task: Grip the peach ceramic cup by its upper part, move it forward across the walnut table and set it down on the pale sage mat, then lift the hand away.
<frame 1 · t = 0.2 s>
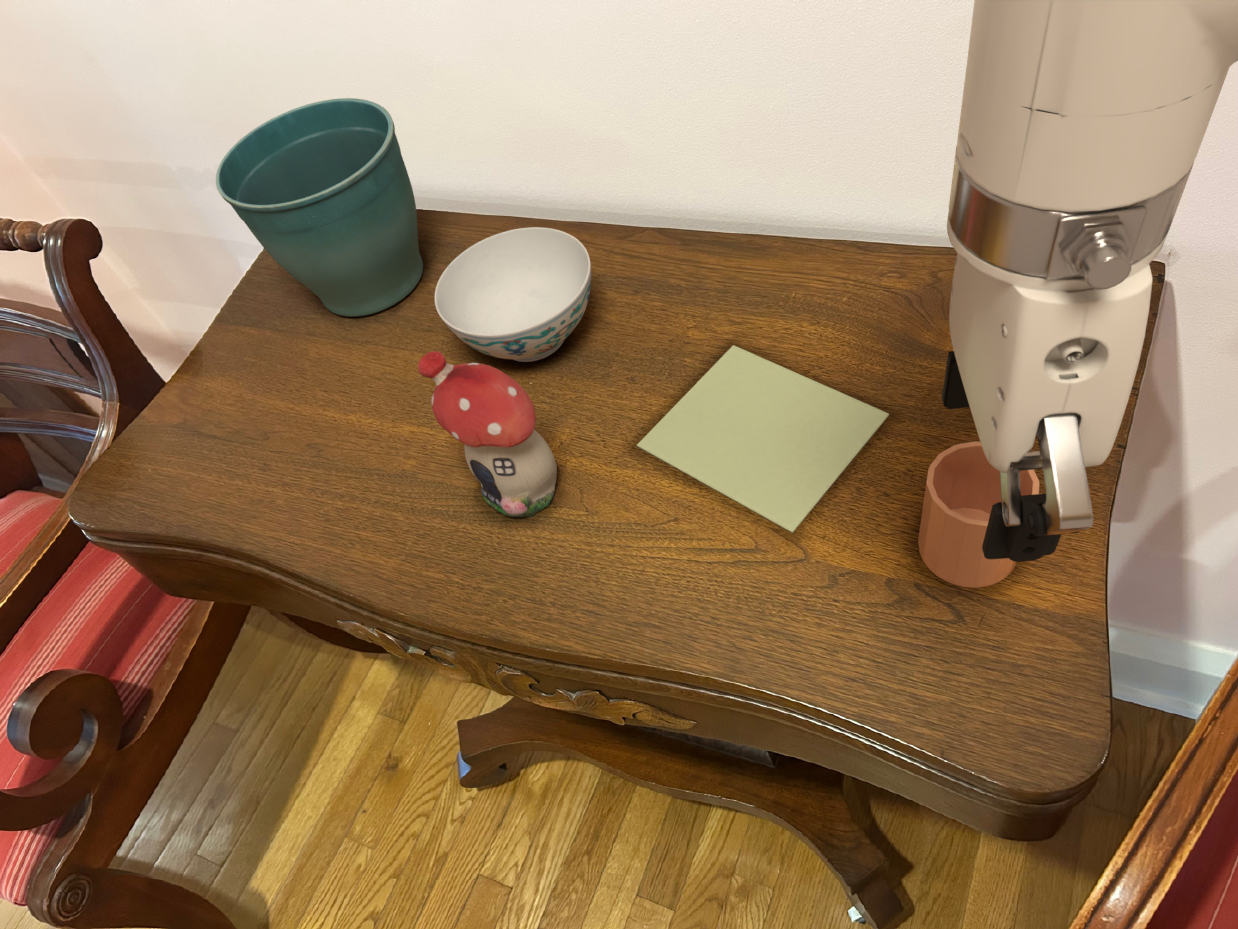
hand: (993, 472, 44), 18 cm above the table, tool pointing down, fingers open, 9 cm apart
flower pot: (376, 284, 96), on the table
cup: (967, 547, 62), on the table
decorative ornament: (519, 487, 74), on the table
mat: (760, 431, 72), on the table
chinaware: (534, 339, 85), on the table
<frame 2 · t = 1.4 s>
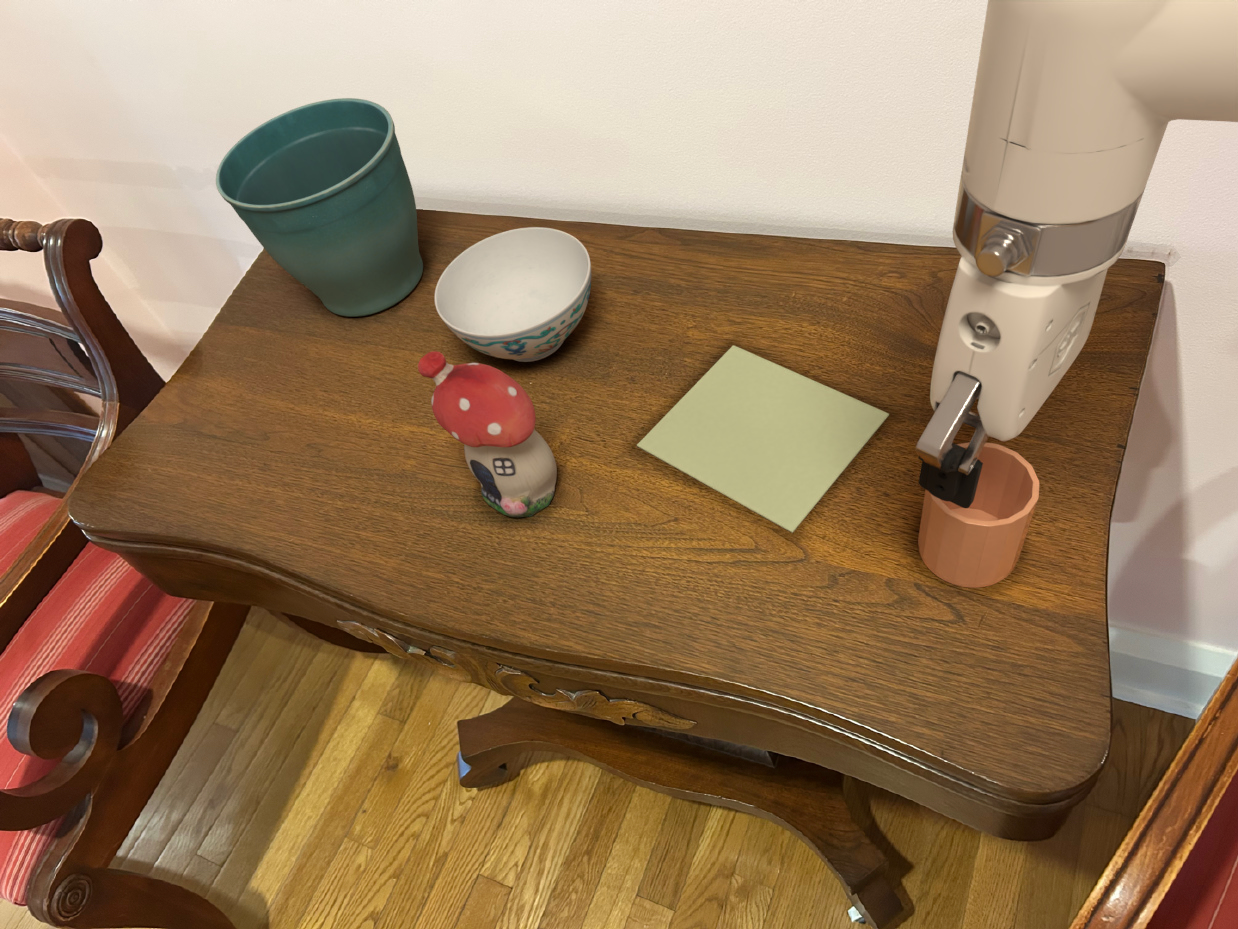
hand: (985, 441, 53), 12 cm above the table, tool pointing down, fingers open, 9 cm apart
nothing on the table moved.
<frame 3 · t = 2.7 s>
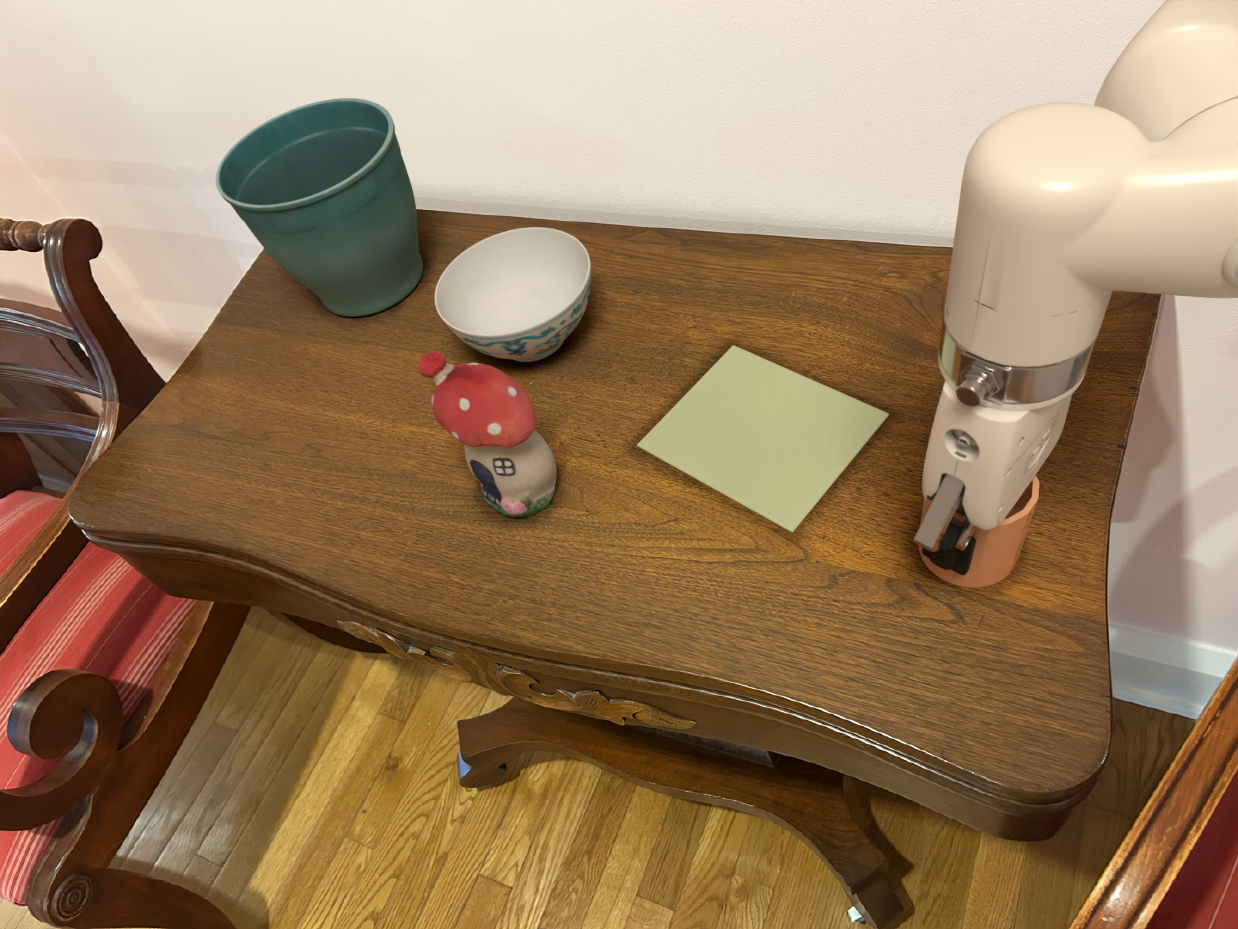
hand: (972, 522, 60), 3 cm above the table, tool pointing down, fingers closed on cup, 6 cm apart
cup: (967, 547, 62), on the table, touching gripper
everything else where it was.
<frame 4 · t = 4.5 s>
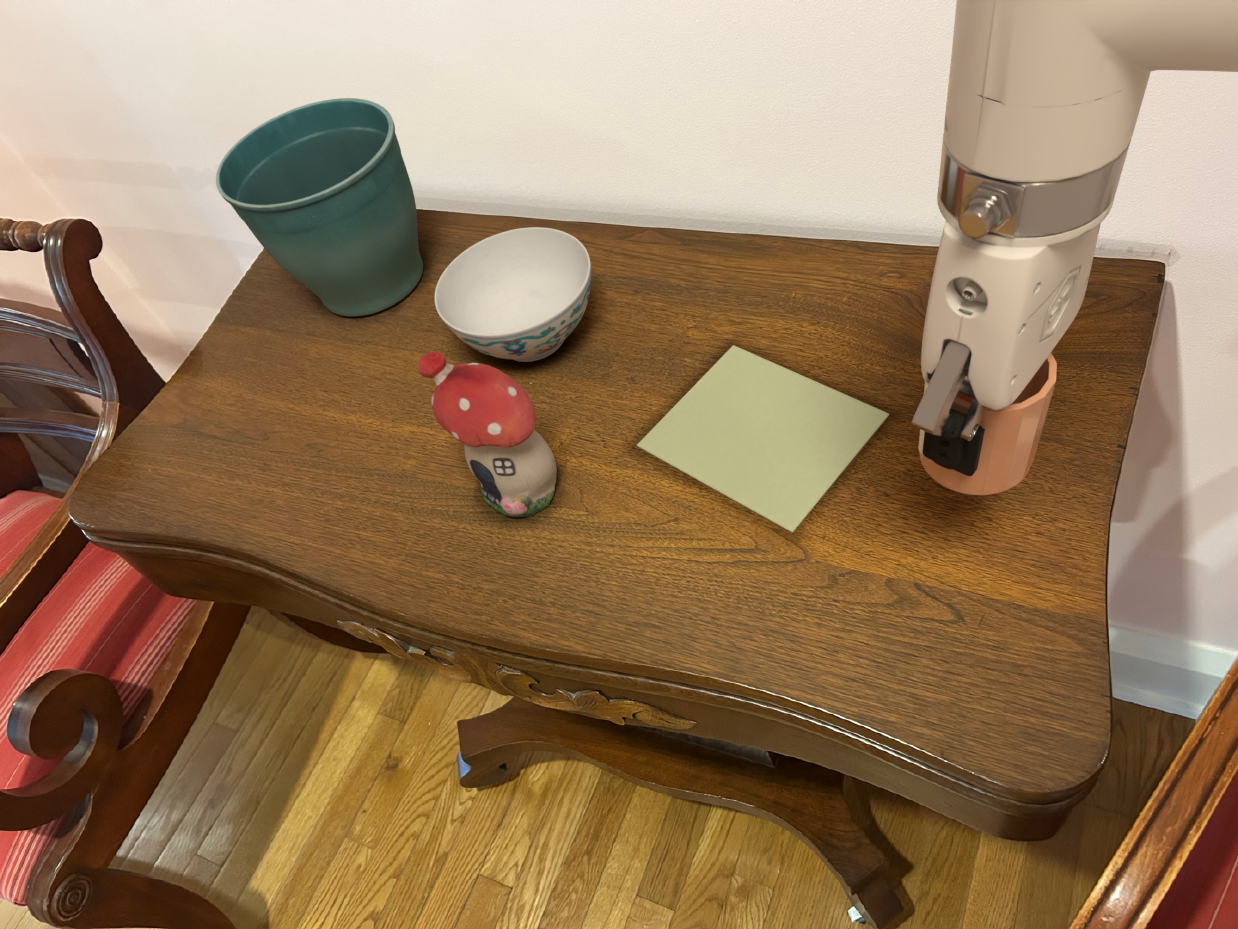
hand: (980, 420, 52), 13 cm above the table, tool pointing down, fingers closed on cup, 6 cm apart
cup: (974, 452, 55), point 10 cm above the table, touching gripper
everything else where it was.
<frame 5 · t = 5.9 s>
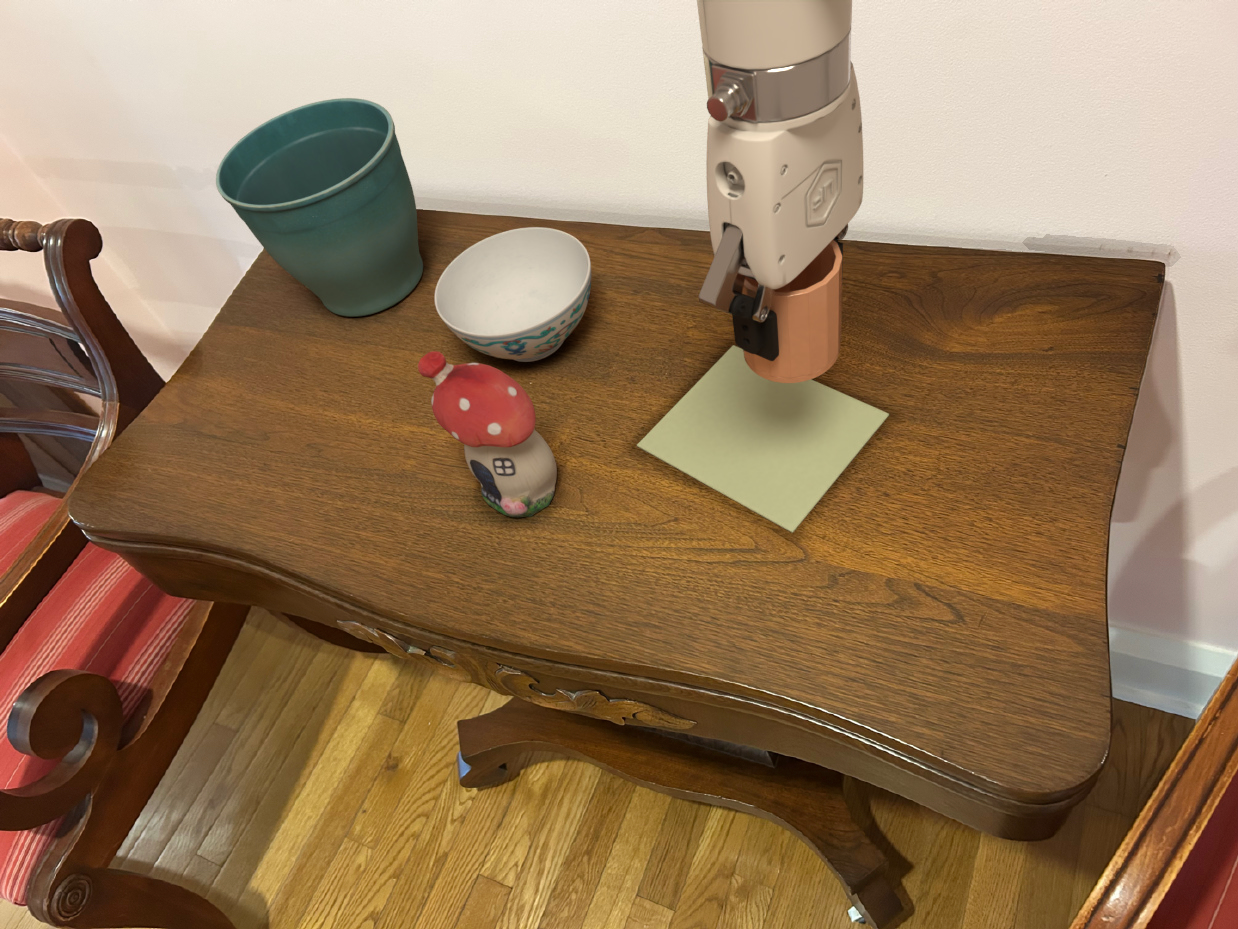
hand: (789, 315, 59), 15 cm above the table, tool pointing down, fingers closed on cup, 6 cm apart
cup: (791, 348, 61), point 12 cm above the table, touching gripper
everything else where it was.
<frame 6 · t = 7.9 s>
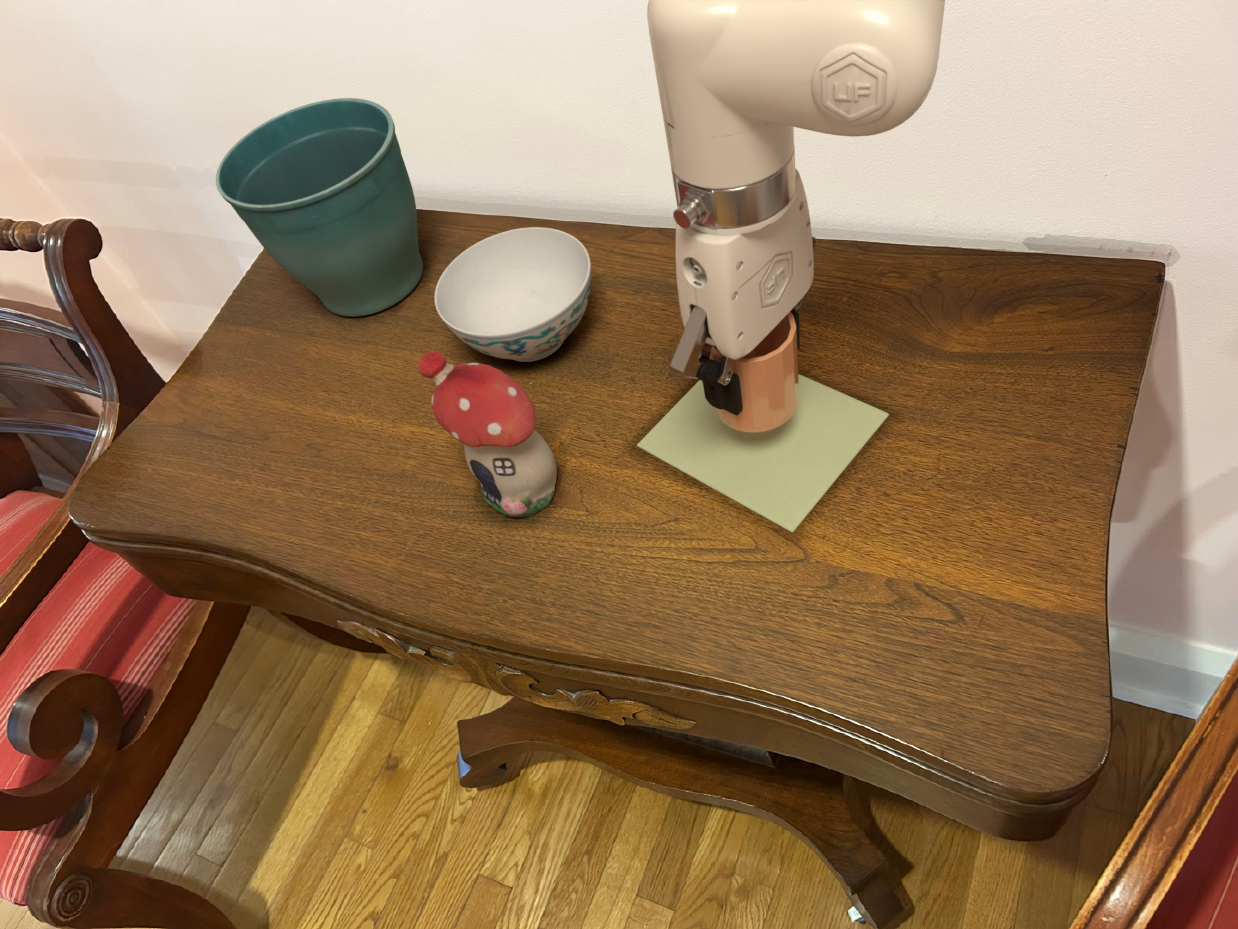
hand: (753, 373, 67), 7 cm above the table, tool pointing down, fingers closed on cup, 6 cm apart
cup: (755, 400, 69), point 4 cm above the table, touching gripper
everything else where it was.
when the fingers open (3 cm above the table, at t = 9.3 s): cup stays where it is, resting on mat.
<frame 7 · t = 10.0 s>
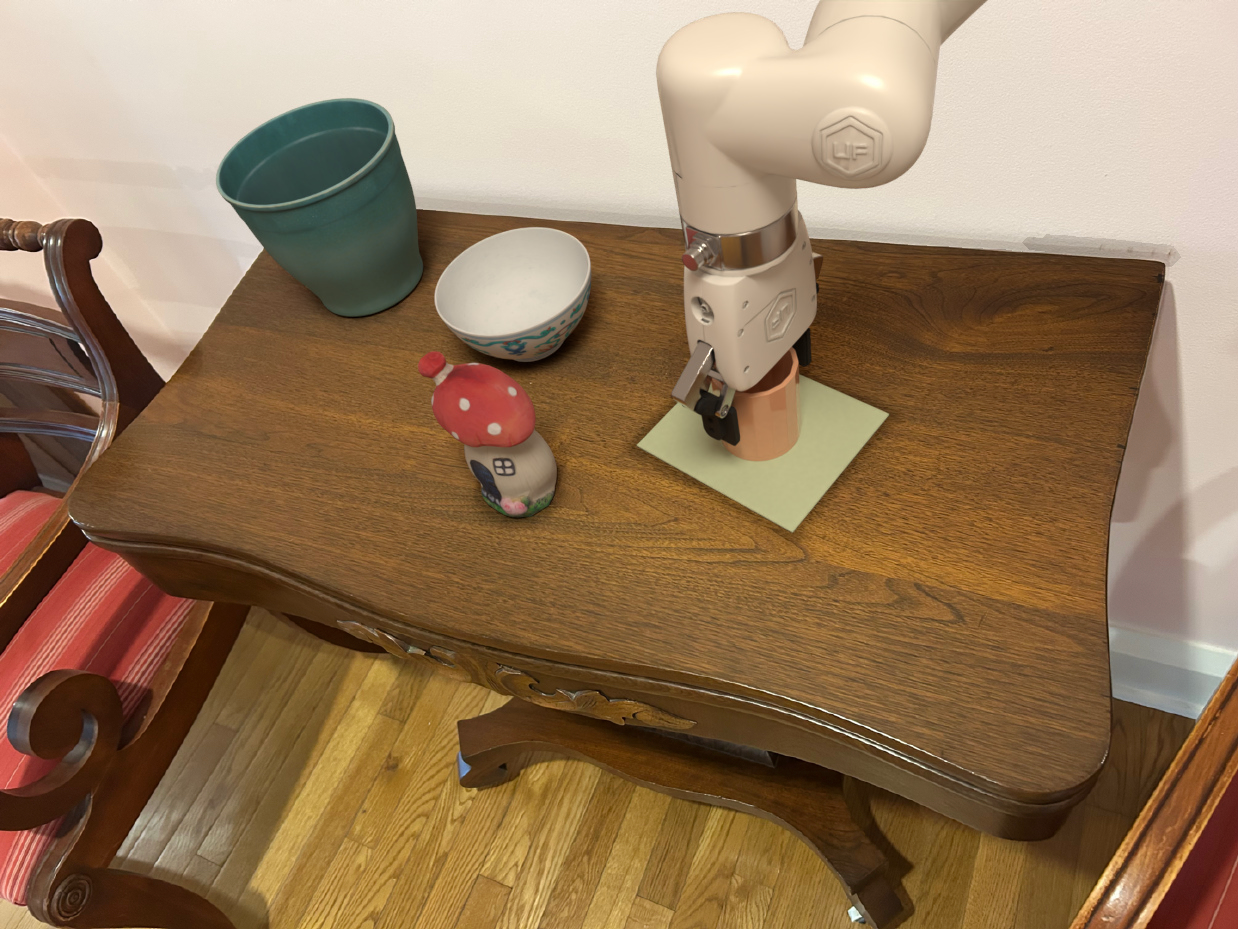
hand: (758, 396, 69), 4 cm above the table, tool pointing down, fingers open, 9 cm apart
cup: (759, 429, 72), resting on mat
everything else where it was.
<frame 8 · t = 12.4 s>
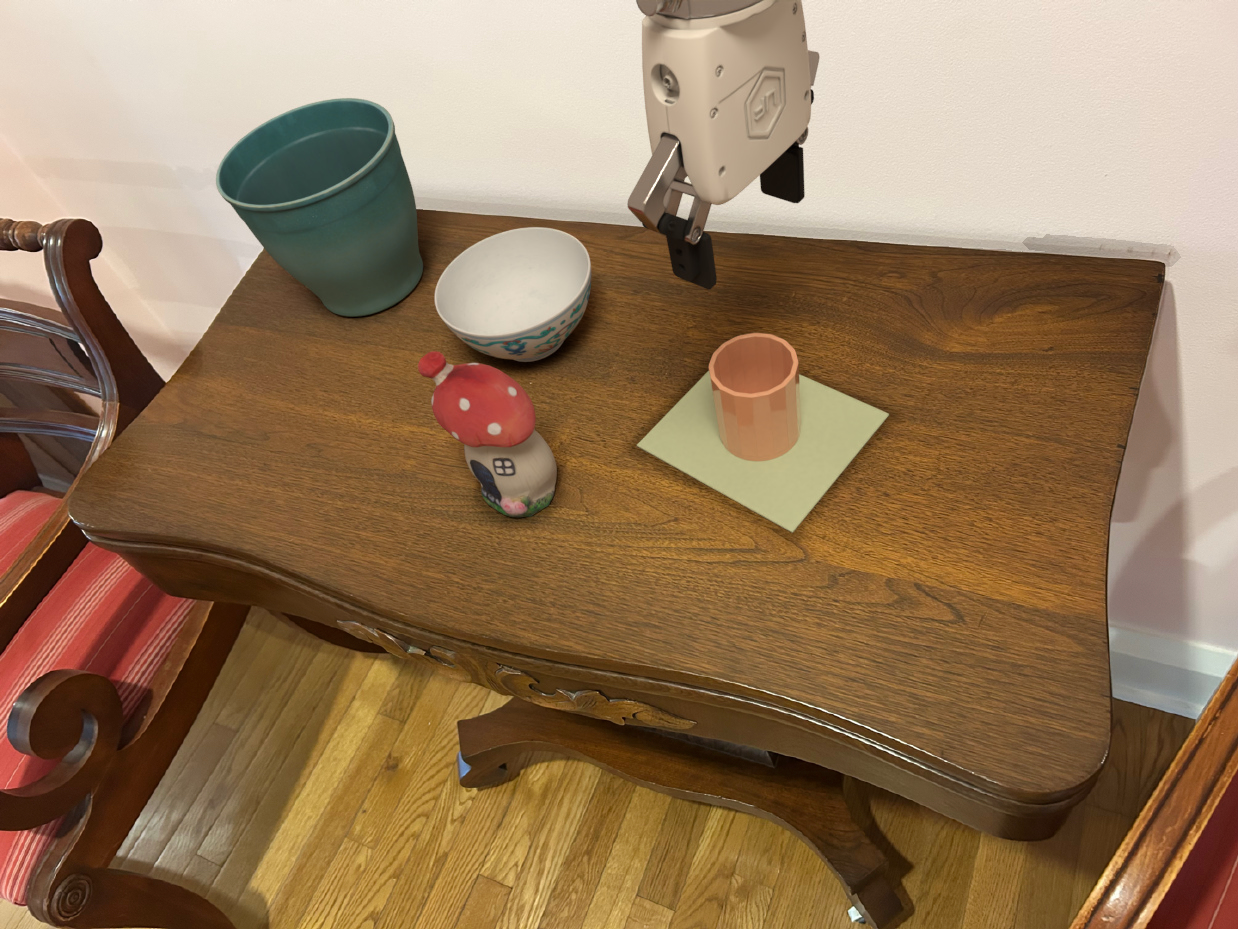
hand: (740, 237, 57), 20 cm above the table, tool pointing down, fingers open, 9 cm apart
nothing on the table moved.
at the end: cup inside the target area on the mat (0.0 cm from its centre), point 0.2 cm above the mat's base; cup tilted 0°; chinaware moved 0.2 cm from its start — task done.
